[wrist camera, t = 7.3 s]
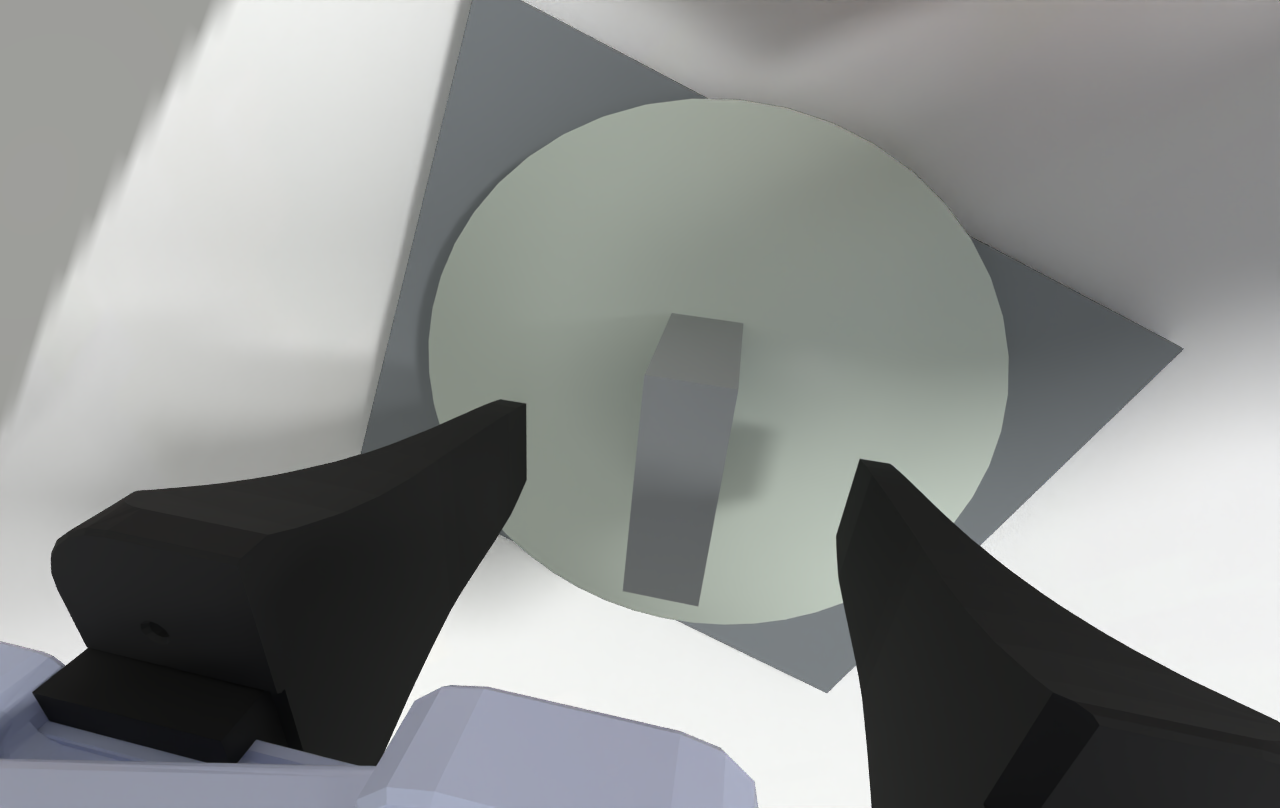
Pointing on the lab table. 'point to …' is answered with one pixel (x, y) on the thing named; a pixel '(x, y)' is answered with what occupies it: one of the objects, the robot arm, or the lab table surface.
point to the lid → (718, 351)
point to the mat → (612, 82)
